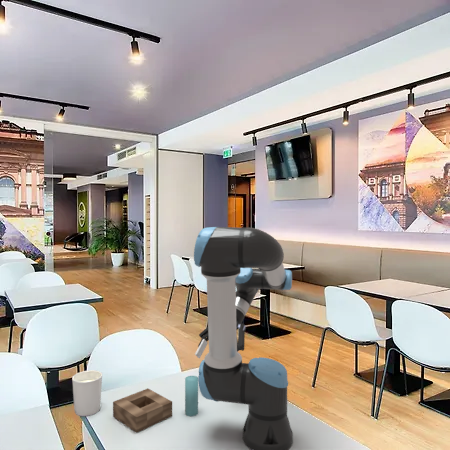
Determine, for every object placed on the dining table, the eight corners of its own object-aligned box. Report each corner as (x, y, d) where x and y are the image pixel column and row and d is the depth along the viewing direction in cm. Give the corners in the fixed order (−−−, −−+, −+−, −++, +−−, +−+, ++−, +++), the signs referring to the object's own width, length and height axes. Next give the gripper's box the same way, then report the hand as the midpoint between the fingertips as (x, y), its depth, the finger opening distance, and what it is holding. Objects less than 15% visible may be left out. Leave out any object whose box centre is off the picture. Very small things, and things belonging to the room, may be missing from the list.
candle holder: (92, 419, 128) (92, 383, 128) (66, 415, 130) (66, 380, 130) (107, 404, 138) (107, 371, 138) (82, 401, 140) (82, 369, 139)
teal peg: (200, 412, 133) (200, 378, 132) (190, 417, 130) (191, 382, 129) (192, 408, 136) (192, 374, 135) (182, 412, 133) (182, 378, 132)
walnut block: (172, 416, 130) (172, 401, 130) (136, 433, 120) (136, 417, 120) (147, 401, 140) (147, 388, 140) (113, 416, 130) (113, 401, 130)
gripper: (267, 322, 146) (243, 374, 135) (216, 311, 161) (191, 357, 150) (259, 311, 141) (233, 364, 130) (208, 301, 157) (181, 347, 146)
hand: (210, 360), depth 140 cm, fingers open, 13 cm apart
